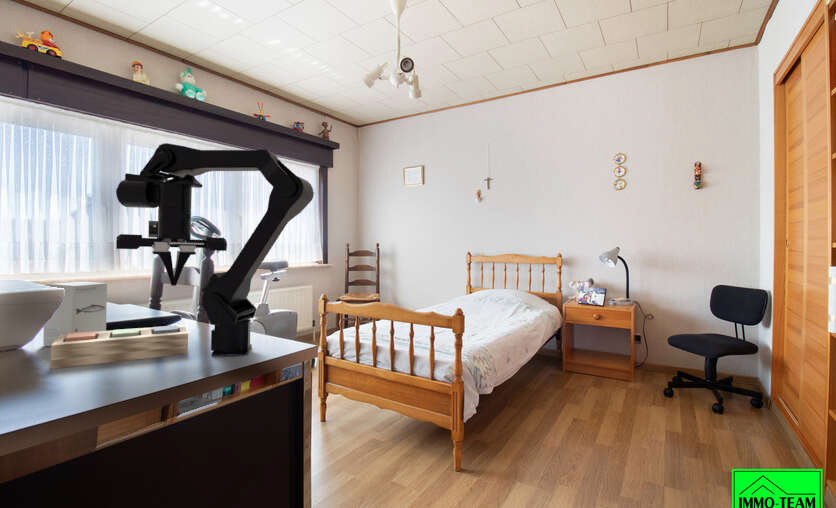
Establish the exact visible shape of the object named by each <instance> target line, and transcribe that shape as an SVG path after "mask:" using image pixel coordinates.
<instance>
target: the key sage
mask: <svg viewBox="0 0 836 508" xmlns="http://www.w3.org/2000/svg"><path fill="white" fill-rule="evenodd" d="M139 328H140V327H137V328H124V329H121V328H120V329H113V333H112V338H114V337H126V336H137V335H139Z"/></svg>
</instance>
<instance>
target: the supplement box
mask: <svg viewBox="0 0 836 508" xmlns="http://www.w3.org/2000/svg"><path fill="white" fill-rule="evenodd" d="M45 285H46V286H50V287H57V288H64V289H65V296H64V299H63V301H62V303H61V305H60V307H59V308H58V309H57V310H56V311H55V313H54V314H53V315H52V317H51V319H49V320H48V321H47V323H46V324H45V326H44V325H43V338H42V341H43V343H42V345H43V346H45V347H46V346H47V347H51V345H52V344H53V343H54V341H55V340H56V339H57V337H58V336H59V335H60V334H69V333H80V332H93V331H97V332H98V331H107V303H108V294H107V293H108V283H107V282H97V281H94V282H93V281H72V282H71V281H70V282H58V283H55V282H54V283H46V284H44V286H45Z"/></svg>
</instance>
